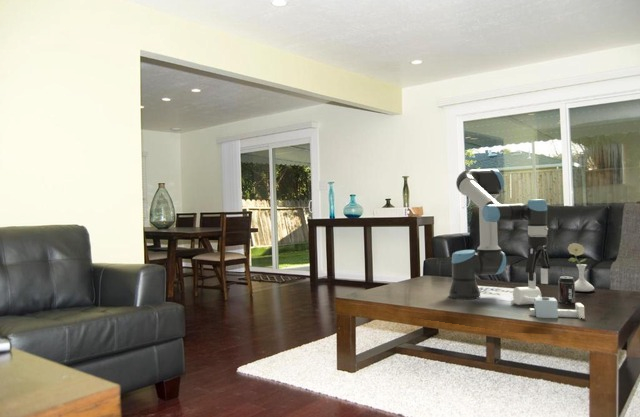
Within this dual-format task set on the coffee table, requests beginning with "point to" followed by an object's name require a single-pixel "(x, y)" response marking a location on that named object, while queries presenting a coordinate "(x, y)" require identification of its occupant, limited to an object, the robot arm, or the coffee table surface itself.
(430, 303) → the coffee table surface
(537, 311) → the block
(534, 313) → the rail
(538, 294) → the mug
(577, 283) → the flower in vase
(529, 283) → the robot arm
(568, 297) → the beverage can
